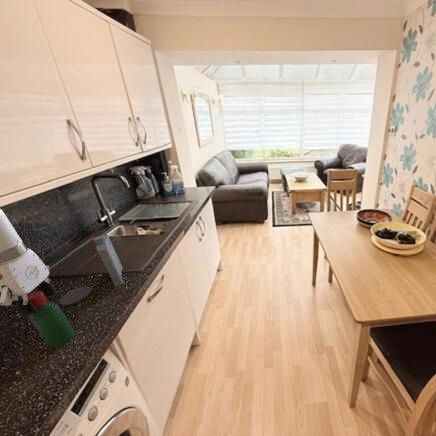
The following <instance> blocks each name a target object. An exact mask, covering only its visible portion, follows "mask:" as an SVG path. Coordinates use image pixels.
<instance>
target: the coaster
mask: <svg viewBox="0 0 436 436" xmlns="http://www.w3.org/2000/svg"><path fill="white" fill-rule="evenodd" d="M92 292H93V288H92V287H91V286H80V287H77V288H75V289H73V290H70V291H69V292H67V293H65V294H64V295H63V296H62V297H61V298H60V299H59V304H60V305H61V306H62V307H69V306H72V305H75V304H78V303H80V302H82V301H84V300H86V299H87V298H88V297H89V296H90V295H91V294H93V293H92Z"/></svg>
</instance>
